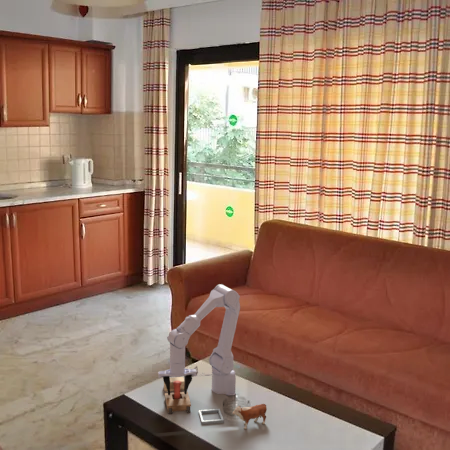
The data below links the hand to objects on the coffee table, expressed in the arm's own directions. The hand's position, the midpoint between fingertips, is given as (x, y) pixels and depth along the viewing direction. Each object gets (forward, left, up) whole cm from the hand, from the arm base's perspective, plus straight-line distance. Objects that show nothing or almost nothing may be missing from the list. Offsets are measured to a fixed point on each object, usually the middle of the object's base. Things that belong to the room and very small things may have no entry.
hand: (177, 393), depth 214 cm
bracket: (-14, -21, -5) cm, 26 cm away
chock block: (0, -11, -5) cm, 12 cm away
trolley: (0, +2, -4) cm, 5 cm away
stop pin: (0, 0, -3) cm, 3 cm away
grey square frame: (-11, +13, -4) cm, 18 cm away
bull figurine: (-24, +19, -5) cm, 31 cm away
